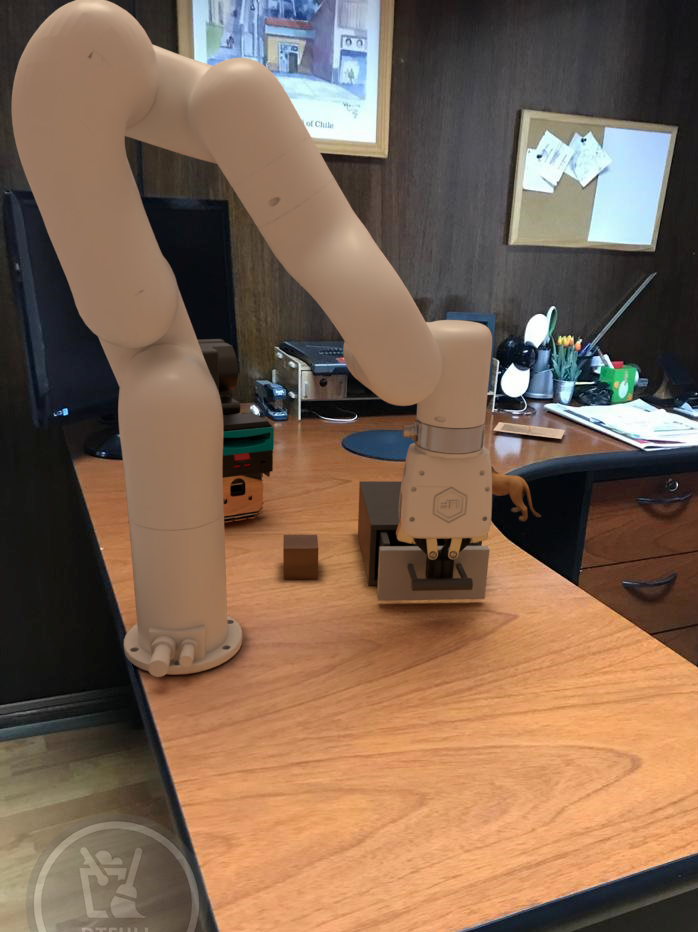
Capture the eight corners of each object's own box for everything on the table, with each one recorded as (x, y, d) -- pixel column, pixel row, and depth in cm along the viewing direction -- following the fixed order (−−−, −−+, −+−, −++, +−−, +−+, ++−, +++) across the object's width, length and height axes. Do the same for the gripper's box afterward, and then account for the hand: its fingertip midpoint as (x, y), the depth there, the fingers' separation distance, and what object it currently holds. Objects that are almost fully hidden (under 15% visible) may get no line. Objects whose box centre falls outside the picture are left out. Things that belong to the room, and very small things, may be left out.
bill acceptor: (213, 535, 113) (207, 365, 104) (162, 488, 131) (152, 339, 122) (278, 523, 119) (277, 360, 110) (220, 479, 136) (215, 336, 127)
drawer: (496, 621, 91) (501, 569, 89) (383, 624, 89) (385, 571, 87) (459, 548, 111) (463, 504, 108) (366, 549, 109) (367, 504, 107)
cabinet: (478, 584, 102) (483, 524, 99) (368, 585, 100) (370, 524, 97) (453, 534, 118) (457, 481, 114) (357, 535, 116) (359, 481, 113)
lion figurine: (449, 508, 128) (453, 456, 125) (460, 498, 133) (464, 448, 129) (536, 525, 123) (543, 471, 119) (544, 514, 127) (551, 462, 124)
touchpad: (498, 426, 179) (499, 417, 178) (564, 434, 175) (565, 425, 174) (492, 435, 172) (493, 425, 171) (560, 443, 168) (562, 433, 167)
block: (318, 579, 102) (318, 548, 100) (283, 579, 101) (283, 548, 99) (316, 564, 106) (317, 534, 104) (283, 564, 105) (283, 534, 104)
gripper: (386, 445, 81) (379, 601, 87) (524, 446, 83) (507, 598, 89) (378, 426, 88) (372, 572, 94) (506, 427, 90) (491, 570, 96)
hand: (438, 585), depth 92 cm, fingers closed
